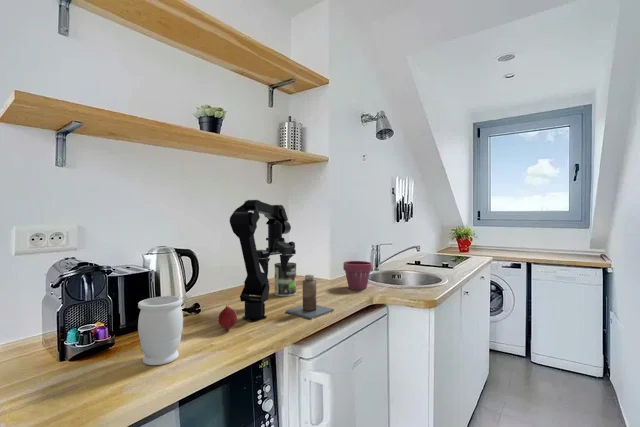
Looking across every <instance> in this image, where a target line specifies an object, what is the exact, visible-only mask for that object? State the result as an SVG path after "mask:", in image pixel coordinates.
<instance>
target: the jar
mask: <svg viewBox="0 0 640 427" xmlns="http://www.w3.org/2000/svg"><path fill="white" fill-rule="evenodd" d="M183 301H184V300H183V297H181V296H178V295H177V296H175V295H174V296H173V295H165V296H155V297H151V298H150V297H148V298H146V299H143V300H140V301H139V302H138V303H137V304H138V305H137V308H138V309H140V311H139V315H138V323H137V333H138V338H139V343H140V347H141V351H142V353H143V354H144V356H143V358H142V363H143V364H145V365H148V366H161V365H165V364H166V365H167V364H168V363H171V362H174V361H175V360H176V359H178V357H179V355H180V353H179V351H178V348H179V346H180V343H181V339H182V332H183V327H184V315H183V314H184V313H183V309H182V306H181V305H182V304H183Z"/></svg>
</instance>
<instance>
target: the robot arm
mask: <svg viewBox="0 0 640 427" xmlns="http://www.w3.org/2000/svg"><path fill="white" fill-rule="evenodd" d="M260 214H262V215H264V217H265V218H266V219H267V221H266V222H265V225H267V237H266V238H265V240H266V241H267V247H266V248H265V249H257V245H256V239H255V232H256V230H257V228H258V226H257V223H258V222H259V219H260V218H261V216H260ZM288 221H289V219H288V215H287V213H286V208H285V207H284V205H282V204H269V203H267V202H263V201H262V200H259V199H247V200H245V201H244V203H243V204H242V205H240V206H239V207H237V208H235V210H234V211H233V212H232V214H231V215H230V217H229V224H230V227H231V230H232V233H234V235H235V236H236V237H237V238H238V239H239V243H240V248H241V252H242V257H243V262H244V266H245V271H246V277H245V280H244V281H243V282H244V286H243V289H242V291H241V292H240V295H239V299H240V302H244V315H243V316H241V318H242V320H243V319H244V320H245V321H246V320H247V321H249V322H252V323H253V322H257V321H259V320H263V319H265V318H267V317H268V315H265V314H266V313H265V312H266V305H265V304H266V303H265V302H267V301H268V299H269V296H270V295H269V293H270V287H271V286H270V281H269V277H268V275H269V262H270V260H271V258H270V256H273V255H274V256H275V255H279V261H280V263H281V268H282V272H285V269H286V266H287V263H288V262H289V261H290V259H291V258H292V257H294V255H296V254H297V252H296V244H295V243H296V242H295V241H289V242H286V240H285V237H283V235H286V234H288V233H289V234H290V232H291V229H292V227H291V226H292V225H291V224H290V222H288ZM261 268H262V270H263V272H262V270H261Z"/></svg>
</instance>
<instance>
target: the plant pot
mask: <svg viewBox="0 0 640 427" xmlns="http://www.w3.org/2000/svg"><path fill="white" fill-rule="evenodd" d="M372 264H373V263H372V262H369V261H363V260H350V261H349V260H348V261H344V262H343V264H342V265H343V271H344V272H345V276H346V283H347V285H348V288H349V289H350V290H357V291H358V290H360V291H361V290H366V289H367V288H368V283H369V278H370V273H371V272H372V270H373V265H372Z"/></svg>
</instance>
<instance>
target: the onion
mask: <svg viewBox="0 0 640 427" xmlns="http://www.w3.org/2000/svg"><path fill="white" fill-rule="evenodd" d="M217 320H218V322H217V323H218V324H219V325H220V327H221V328H223V329H224V330H225V331H229V330H230V329H231V328H233V327H235V325H236V324H237V322H238V321H237V320H238V314H237V313H236V311H235V309H233V308H231V307H230V306H229V305H228V304H226V305H225V308H223V309H222V310H221V311H220V313H219V314H218V318H217Z"/></svg>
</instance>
